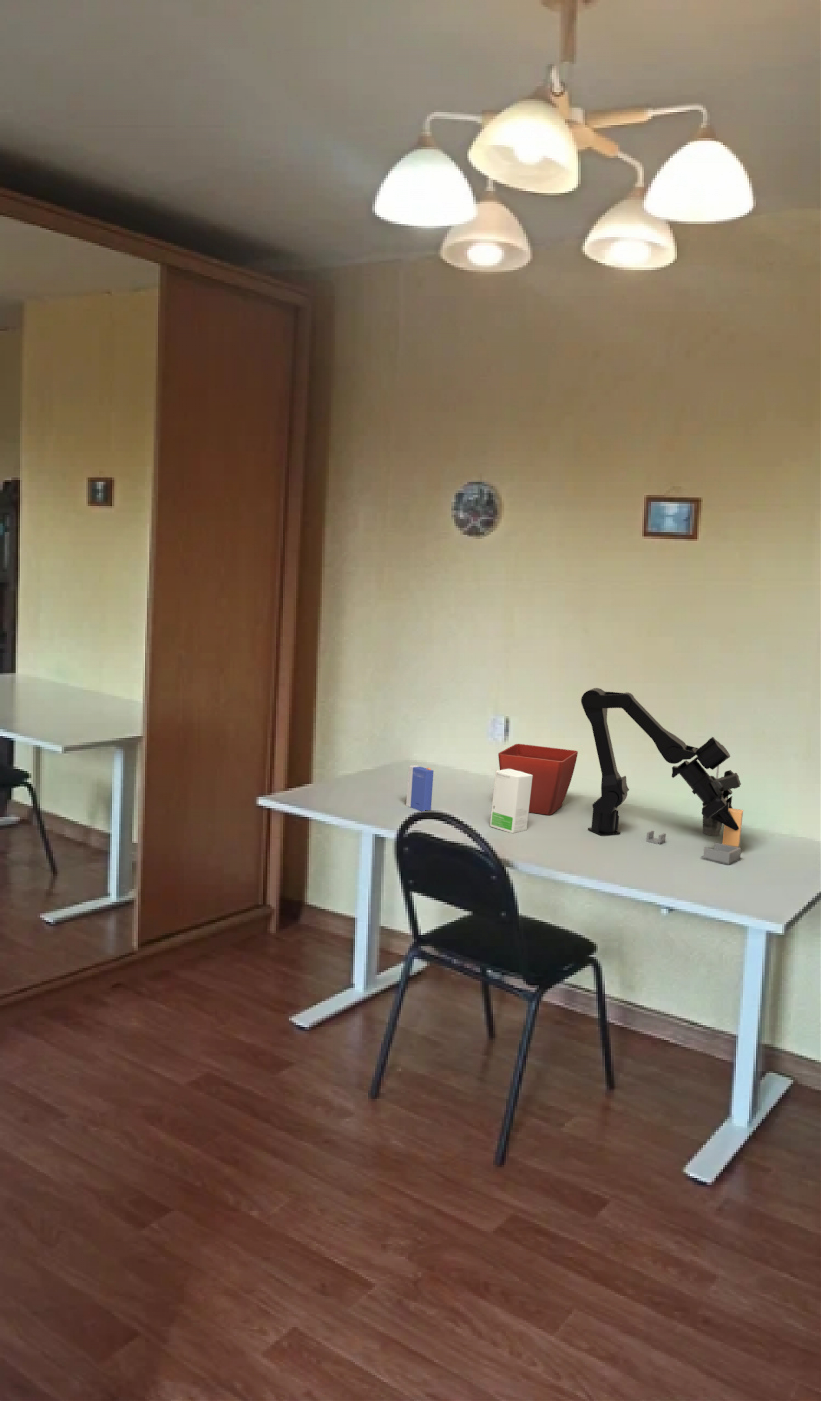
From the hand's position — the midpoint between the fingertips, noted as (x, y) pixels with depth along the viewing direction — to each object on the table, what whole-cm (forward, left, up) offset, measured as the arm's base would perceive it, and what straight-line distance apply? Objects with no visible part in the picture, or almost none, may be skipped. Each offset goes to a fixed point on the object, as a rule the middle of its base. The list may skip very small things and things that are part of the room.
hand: (738, 827), depth 291 cm
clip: (-15, +14, -7) cm, 22 cm away
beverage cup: (+7, +17, -7) cm, 20 cm away
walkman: (-61, +62, -7) cm, 87 cm away
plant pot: (-27, +54, -7) cm, 61 cm away
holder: (-9, -4, -7) cm, 12 cm away
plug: (-1, +1, -7) cm, 7 cm away
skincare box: (-47, +36, -7) cm, 60 cm away
